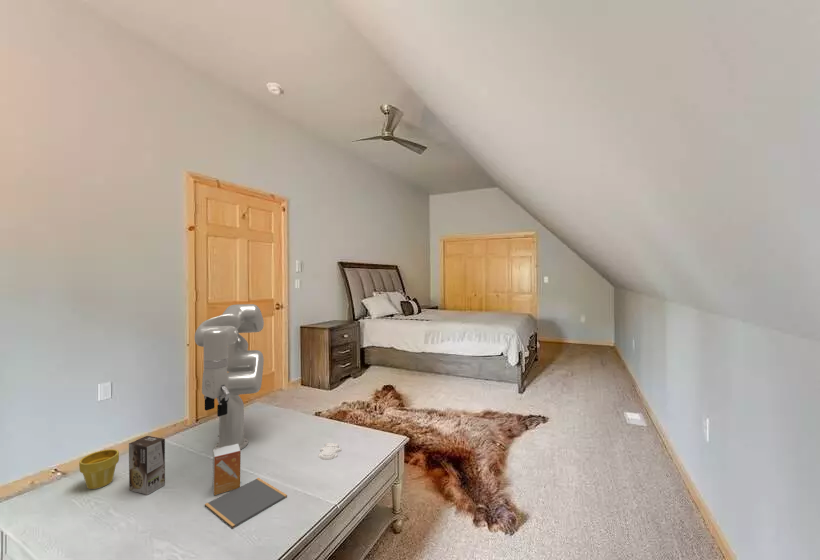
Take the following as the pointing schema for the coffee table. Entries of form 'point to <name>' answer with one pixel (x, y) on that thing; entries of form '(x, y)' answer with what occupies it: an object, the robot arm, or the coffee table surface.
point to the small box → (226, 468)
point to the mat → (245, 502)
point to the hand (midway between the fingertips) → (215, 412)
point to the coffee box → (146, 464)
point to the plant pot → (99, 468)
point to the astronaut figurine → (329, 451)
